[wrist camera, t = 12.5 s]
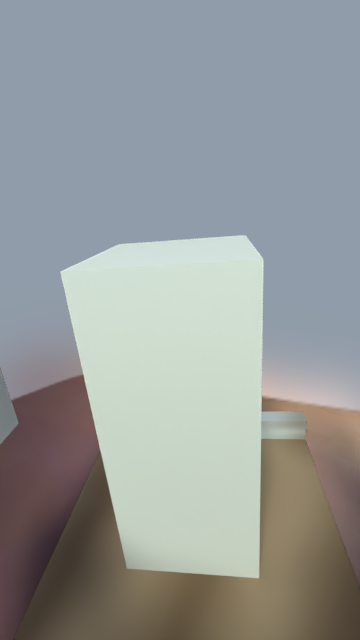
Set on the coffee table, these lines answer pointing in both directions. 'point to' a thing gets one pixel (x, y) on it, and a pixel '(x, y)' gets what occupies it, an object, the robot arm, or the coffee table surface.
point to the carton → (176, 397)
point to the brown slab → (201, 589)
